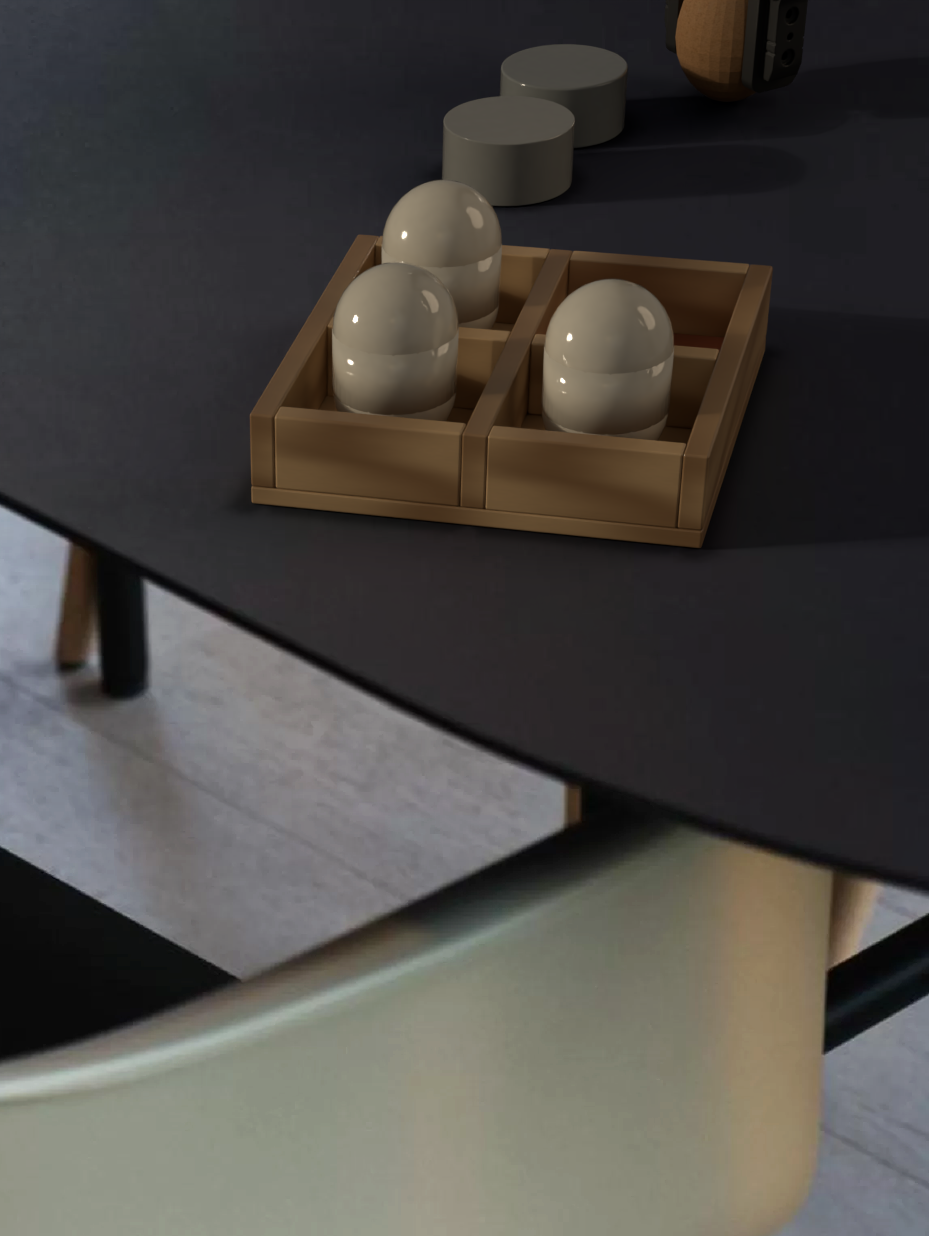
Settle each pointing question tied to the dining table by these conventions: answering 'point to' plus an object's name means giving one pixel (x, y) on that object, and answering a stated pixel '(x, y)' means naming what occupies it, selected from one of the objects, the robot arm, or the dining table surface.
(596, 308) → the cream egg
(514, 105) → the grey short cylinder
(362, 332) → the cream egg
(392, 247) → the cream egg
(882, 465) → the dining table surface
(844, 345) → the dining table surface
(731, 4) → the egg
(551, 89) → the grey short cylinder
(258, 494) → the egg tray
